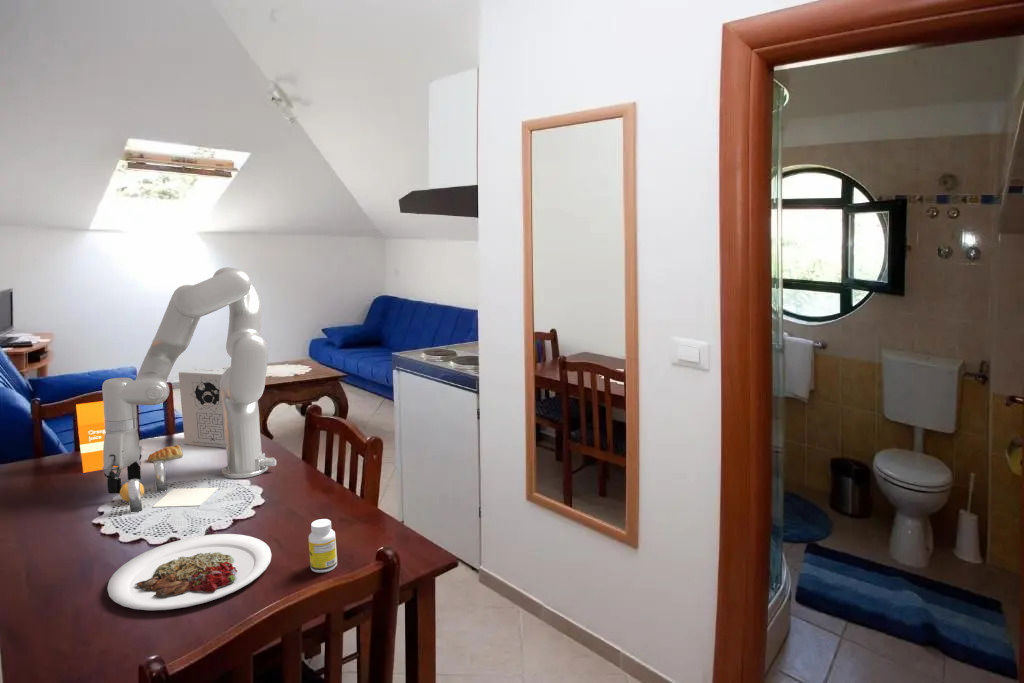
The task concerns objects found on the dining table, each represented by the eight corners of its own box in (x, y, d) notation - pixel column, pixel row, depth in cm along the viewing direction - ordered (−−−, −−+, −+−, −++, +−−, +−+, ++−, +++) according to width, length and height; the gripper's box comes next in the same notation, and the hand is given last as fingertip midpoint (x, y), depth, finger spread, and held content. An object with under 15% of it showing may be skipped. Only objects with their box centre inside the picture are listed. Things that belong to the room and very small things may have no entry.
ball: (128, 496, 172) (149, 495, 172) (118, 506, 166) (139, 505, 167) (124, 477, 170) (145, 476, 171) (113, 487, 165) (135, 485, 165)
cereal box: (255, 442, 218) (249, 370, 214) (240, 449, 211) (235, 374, 207) (200, 438, 223) (194, 367, 219) (184, 444, 216) (177, 371, 212)
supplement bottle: (313, 561, 137) (310, 517, 135) (339, 560, 137) (337, 516, 136) (307, 574, 132) (304, 529, 130) (334, 572, 132) (332, 527, 131)
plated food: (163, 541, 147) (162, 527, 147) (293, 542, 146) (292, 528, 146) (71, 616, 118) (69, 599, 117) (232, 619, 117) (231, 601, 116)
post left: (144, 508, 164) (141, 478, 163) (139, 512, 162) (135, 482, 161) (133, 508, 164) (130, 478, 163) (128, 513, 162) (125, 482, 160)
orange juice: (117, 467, 195) (111, 402, 192) (82, 472, 190) (75, 407, 187) (116, 459, 201) (109, 397, 198) (82, 465, 196) (75, 401, 193)
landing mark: (218, 488, 178) (218, 487, 177) (200, 506, 166) (199, 505, 166) (173, 489, 177) (173, 488, 177) (152, 507, 165) (151, 506, 165)
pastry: (152, 465, 197) (150, 453, 196) (145, 460, 201) (144, 448, 201) (184, 458, 203) (183, 446, 203) (178, 453, 208) (176, 442, 207)
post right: (168, 488, 178) (166, 460, 177) (164, 491, 175) (161, 463, 174) (159, 488, 178) (156, 460, 176) (154, 492, 175) (151, 464, 174)
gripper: (124, 416, 179) (127, 475, 181) (87, 433, 162) (91, 498, 164) (152, 416, 180) (155, 475, 182) (118, 433, 162) (121, 498, 165)
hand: (125, 486), depth 173 cm, fingers open, 9 cm apart
